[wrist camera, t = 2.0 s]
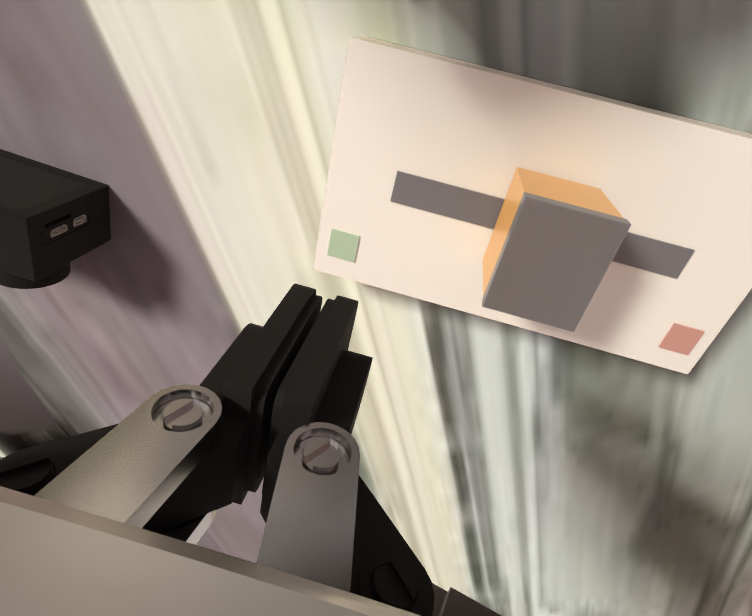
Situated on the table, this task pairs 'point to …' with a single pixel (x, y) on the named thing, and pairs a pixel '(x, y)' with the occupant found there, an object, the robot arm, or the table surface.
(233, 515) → the table surface
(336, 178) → the slider base
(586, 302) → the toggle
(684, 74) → the table surface
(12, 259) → the digital camera
